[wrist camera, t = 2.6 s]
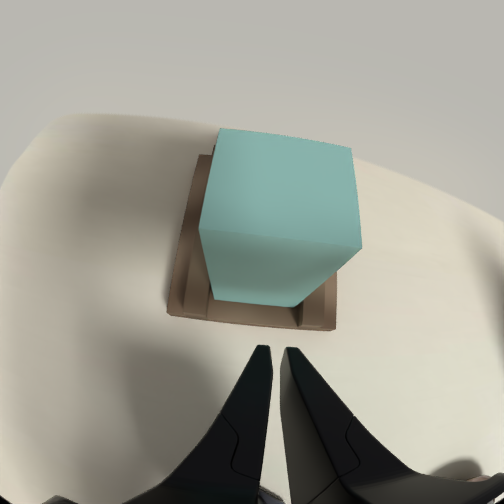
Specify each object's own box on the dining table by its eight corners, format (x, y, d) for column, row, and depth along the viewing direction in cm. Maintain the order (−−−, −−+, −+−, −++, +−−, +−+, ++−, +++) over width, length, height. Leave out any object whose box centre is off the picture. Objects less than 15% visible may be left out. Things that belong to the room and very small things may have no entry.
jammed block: (293, 307, 21) (362, 247, 10) (214, 299, 21) (198, 228, 10) (296, 246, 23) (351, 147, 12) (222, 238, 23) (220, 128, 12)
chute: (329, 331, 22) (354, 323, 18) (170, 315, 22) (155, 303, 17) (327, 180, 28) (343, 148, 23) (200, 163, 27) (196, 129, 23)
